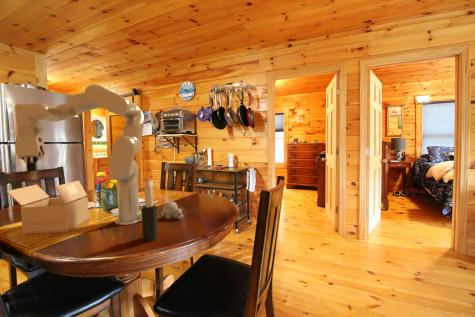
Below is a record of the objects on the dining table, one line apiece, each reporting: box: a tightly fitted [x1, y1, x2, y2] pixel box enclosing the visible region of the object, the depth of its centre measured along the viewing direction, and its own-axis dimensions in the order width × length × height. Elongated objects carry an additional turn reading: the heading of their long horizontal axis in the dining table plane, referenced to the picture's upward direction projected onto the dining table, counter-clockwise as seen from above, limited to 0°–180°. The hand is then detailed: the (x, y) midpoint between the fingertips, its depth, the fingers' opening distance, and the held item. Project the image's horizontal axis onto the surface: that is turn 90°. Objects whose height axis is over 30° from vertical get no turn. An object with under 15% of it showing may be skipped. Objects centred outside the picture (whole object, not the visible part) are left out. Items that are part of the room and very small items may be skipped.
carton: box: [20, 196, 90, 234], centre depth 109 cm, size 19×17×12 cm
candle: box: [140, 177, 159, 242], centre depth 93 cm, size 5×5×25 cm
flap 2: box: [54, 180, 88, 204], centre depth 109 cm, size 8×16×1 cm
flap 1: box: [6, 184, 50, 207], centre depth 108 cm, size 8×16×1 cm
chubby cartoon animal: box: [160, 200, 184, 220], centre depth 118 cm, size 7×12×8 cm, turn 64°
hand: (32, 171), depth 107 cm, fingers closed
